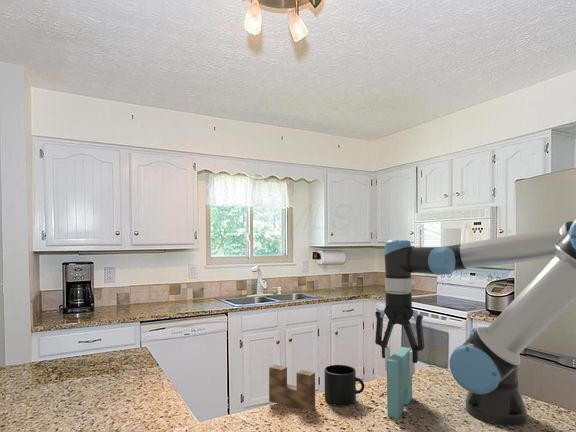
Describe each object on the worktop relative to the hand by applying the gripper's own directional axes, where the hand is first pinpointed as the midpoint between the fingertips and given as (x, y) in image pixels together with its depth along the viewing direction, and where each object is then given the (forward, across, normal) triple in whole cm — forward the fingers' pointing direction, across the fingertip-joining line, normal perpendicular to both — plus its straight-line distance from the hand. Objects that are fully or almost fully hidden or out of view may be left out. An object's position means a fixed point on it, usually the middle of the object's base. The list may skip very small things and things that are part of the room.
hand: (399, 371), depth 114 cm
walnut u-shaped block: (+10, +28, +15) cm, 33 cm away
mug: (+10, +16, +4) cm, 19 cm away
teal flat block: (+10, 0, 0) cm, 10 cm away
